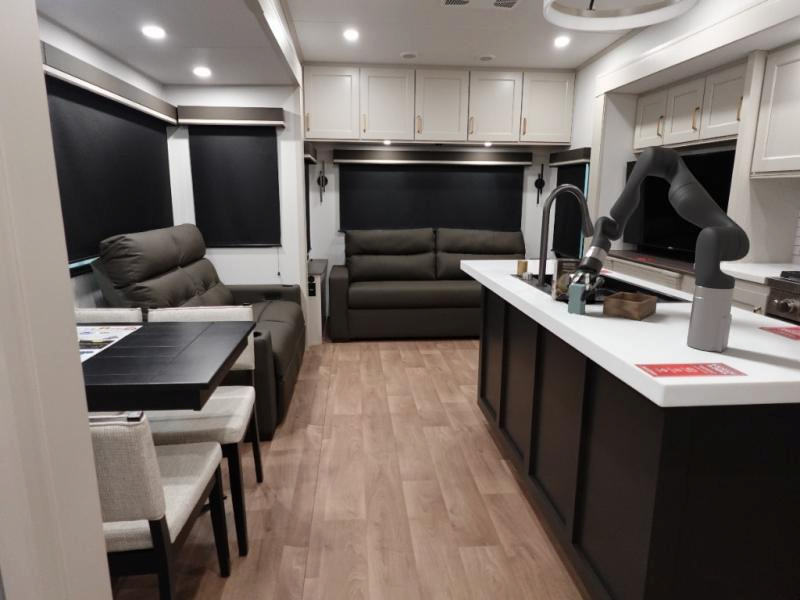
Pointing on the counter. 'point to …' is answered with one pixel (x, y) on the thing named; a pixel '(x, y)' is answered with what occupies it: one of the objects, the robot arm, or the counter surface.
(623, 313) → the crate
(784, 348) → the counter surface
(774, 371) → the counter surface
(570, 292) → the block
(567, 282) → the robot arm
